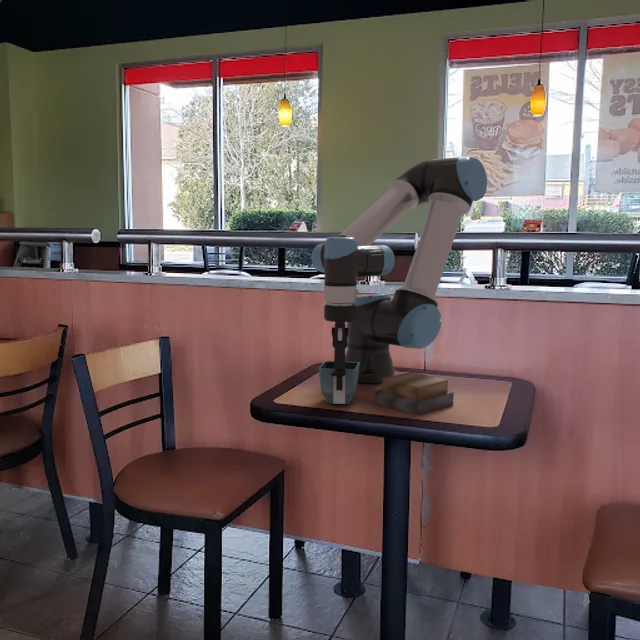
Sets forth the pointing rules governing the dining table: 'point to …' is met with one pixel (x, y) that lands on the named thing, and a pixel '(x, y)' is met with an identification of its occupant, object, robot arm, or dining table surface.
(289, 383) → the dining table surface
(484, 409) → the dining table surface
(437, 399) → the tier stand
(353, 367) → the flower pot
